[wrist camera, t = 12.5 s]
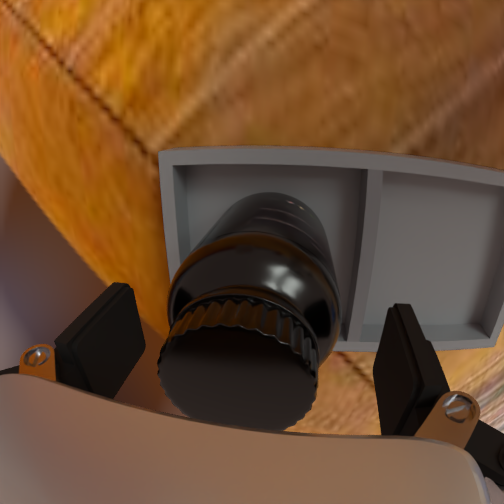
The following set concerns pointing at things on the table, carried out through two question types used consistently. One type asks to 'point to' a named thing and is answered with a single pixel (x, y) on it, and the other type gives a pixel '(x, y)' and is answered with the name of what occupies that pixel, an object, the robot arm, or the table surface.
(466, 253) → the holder
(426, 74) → the table surface
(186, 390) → the supplement bottle
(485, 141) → the table surface
